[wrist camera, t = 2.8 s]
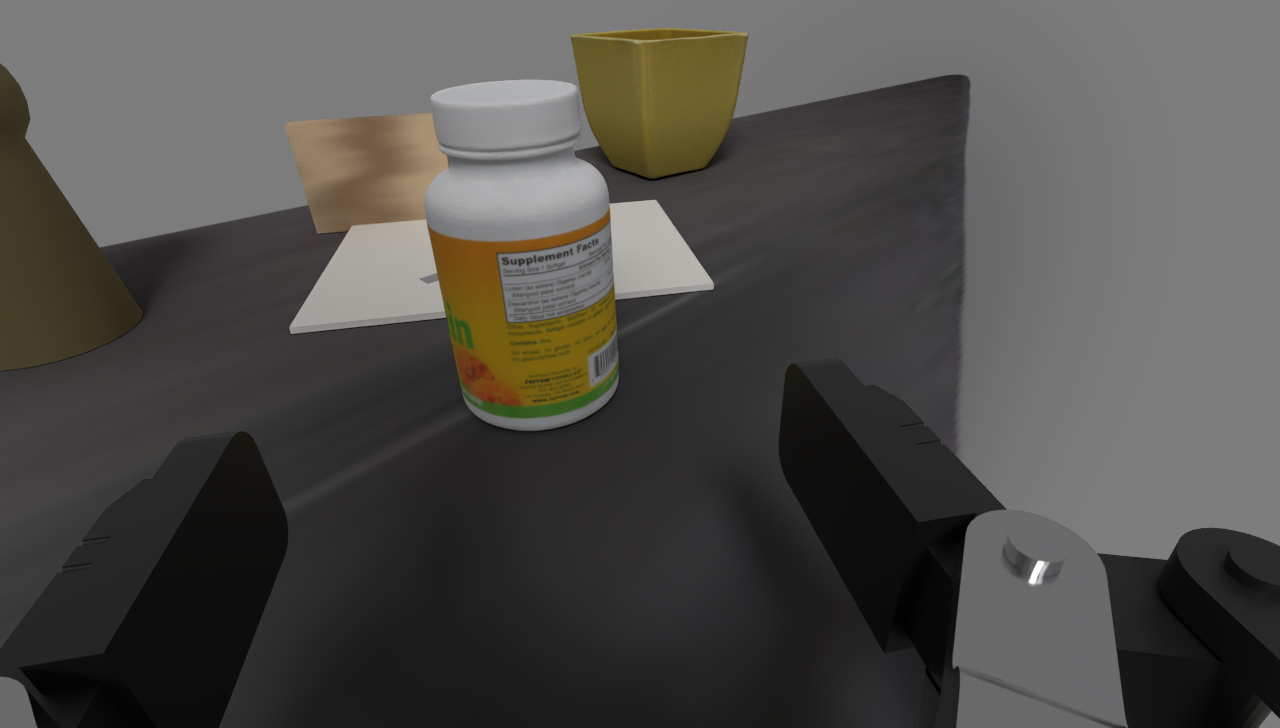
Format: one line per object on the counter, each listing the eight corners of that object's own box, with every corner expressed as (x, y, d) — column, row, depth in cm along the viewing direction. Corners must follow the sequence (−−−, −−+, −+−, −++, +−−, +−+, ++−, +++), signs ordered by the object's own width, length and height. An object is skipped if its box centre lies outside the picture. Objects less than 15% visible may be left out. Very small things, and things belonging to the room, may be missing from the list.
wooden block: (317, 233, 37) (284, 125, 34) (321, 227, 38) (290, 121, 35) (458, 221, 38) (439, 115, 35) (459, 216, 39) (441, 111, 36)
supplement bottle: (453, 369, 24) (394, 85, 19) (592, 339, 25) (571, 71, 20) (478, 453, 20) (409, 114, 15) (643, 411, 21) (632, 93, 16)
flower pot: (670, 149, 53) (670, 25, 48) (744, 170, 47) (751, 30, 42) (578, 168, 49) (567, 34, 44) (645, 193, 42) (641, 40, 38)
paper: (291, 333, 27) (288, 326, 26) (353, 230, 38) (351, 225, 37) (713, 289, 29) (713, 282, 29) (656, 204, 40) (656, 199, 40)
